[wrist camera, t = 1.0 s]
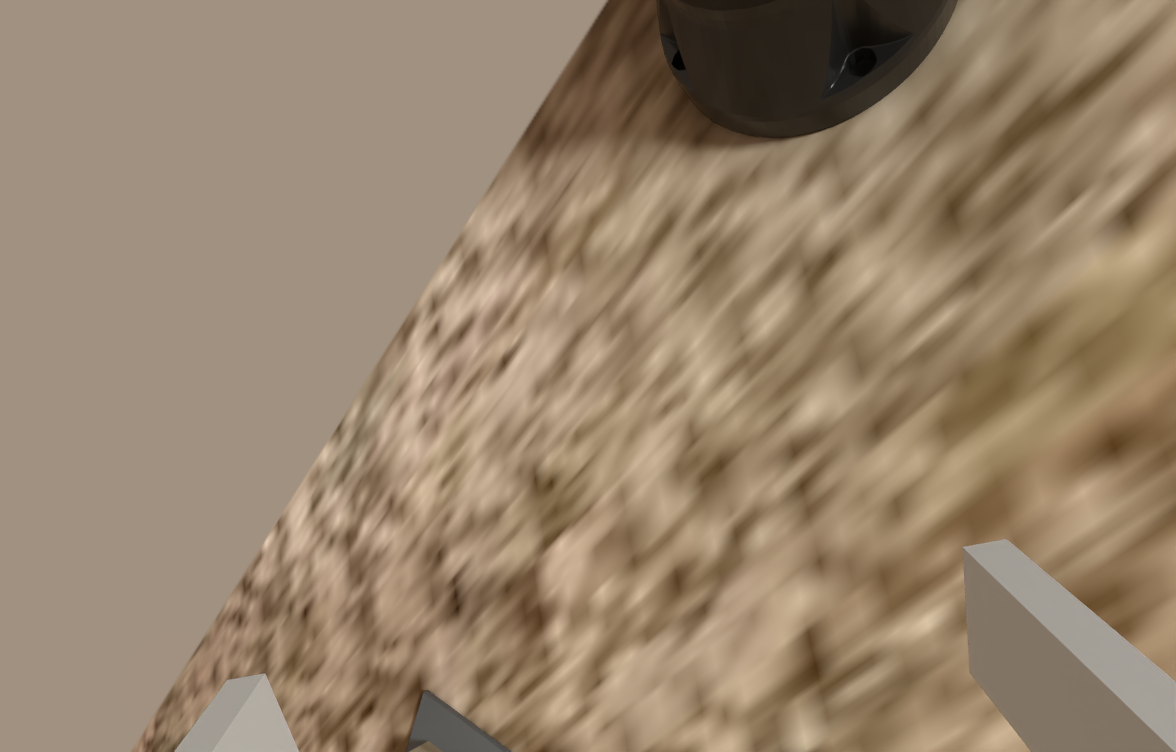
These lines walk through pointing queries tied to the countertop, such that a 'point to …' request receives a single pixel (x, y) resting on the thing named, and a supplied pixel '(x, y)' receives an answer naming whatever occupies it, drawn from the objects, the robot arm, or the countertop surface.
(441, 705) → the mat
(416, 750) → the tray
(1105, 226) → the countertop surface
